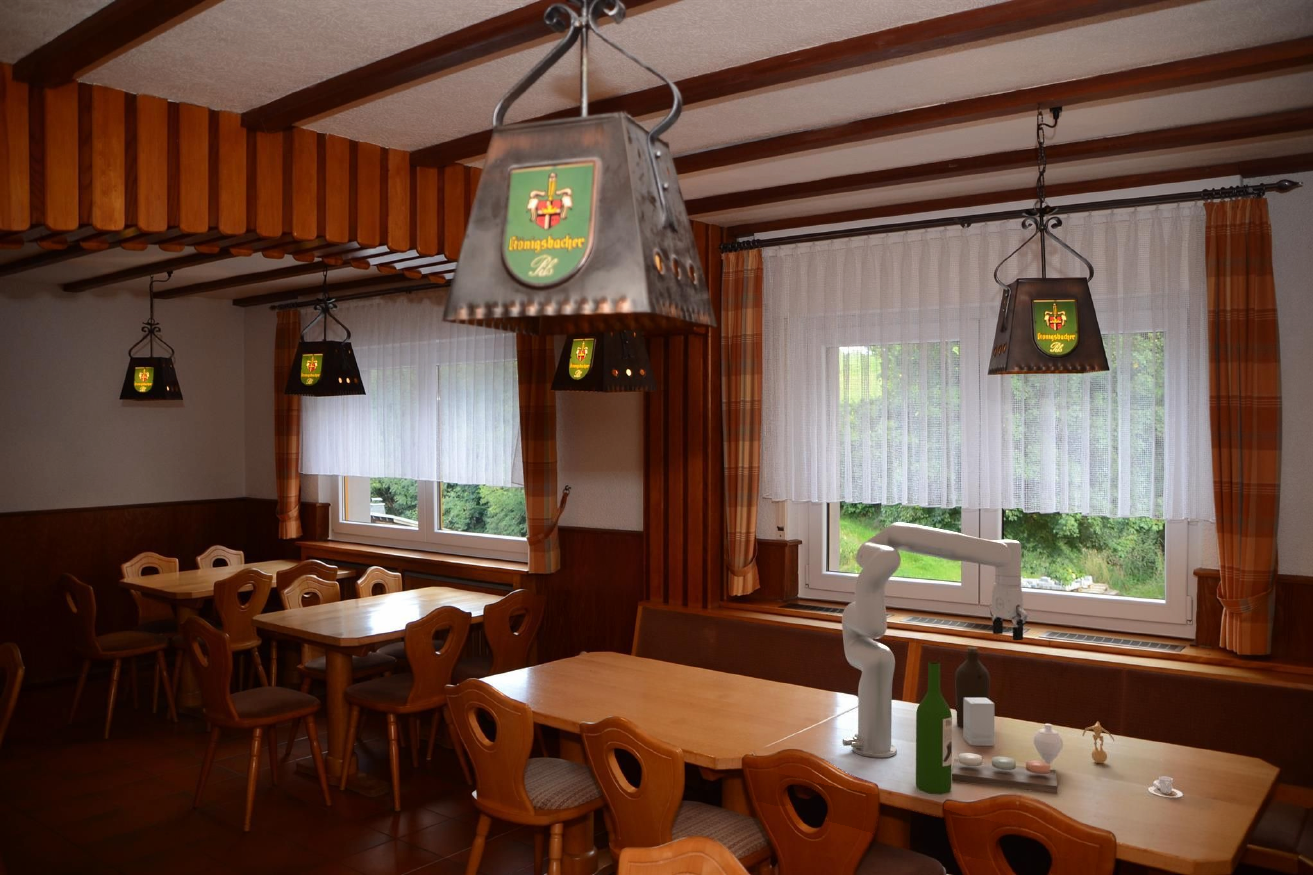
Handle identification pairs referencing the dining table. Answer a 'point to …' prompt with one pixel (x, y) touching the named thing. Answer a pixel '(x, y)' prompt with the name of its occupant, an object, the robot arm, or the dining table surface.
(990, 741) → the supplement box
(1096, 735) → the figurine
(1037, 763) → the terracotta button
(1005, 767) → the sage button
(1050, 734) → the spinning top
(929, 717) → the wine bottle
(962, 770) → the button board
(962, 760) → the cream button
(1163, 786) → the teacup and saucer
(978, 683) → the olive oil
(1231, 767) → the dining table surface
